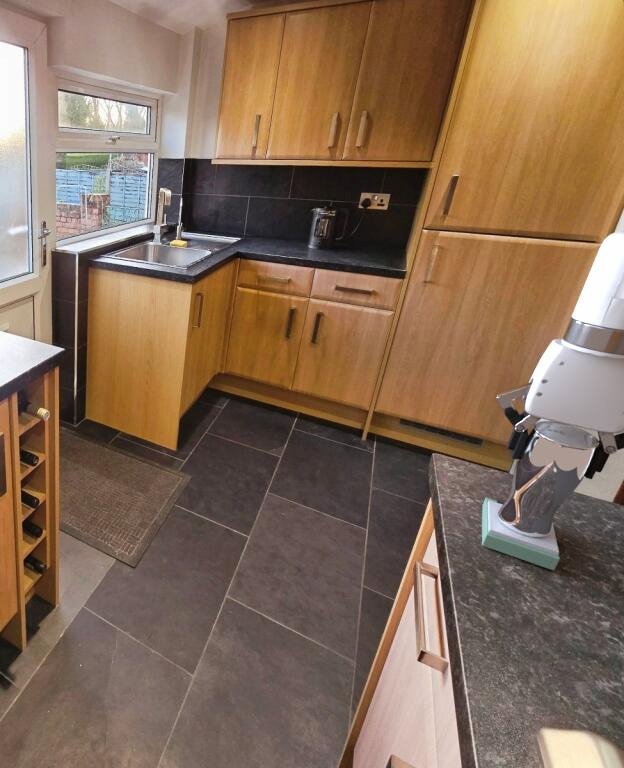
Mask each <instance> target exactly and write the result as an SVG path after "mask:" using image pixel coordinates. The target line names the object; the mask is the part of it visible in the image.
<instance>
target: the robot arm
mask: <svg viewBox="0 0 624 768" xmlns="http://www.w3.org/2000/svg"><path fill="white" fill-rule="evenodd" d="M519 399H522V403H524V404H525V405H524V411H522V412H521V413H519V411H518V410H517V409H516V407H515V406H514V405H513V403H512V402H513V401H515V400H519ZM495 401H496V402H497V404H498V406H499V407H500V409H501V410H502V412H503V414H504V416H505V417H506V418H507V420H508V421H509V423H510V424H511V425H512V427H513V429H512V432H511V434H510V437H509V439H508V441H507V445H506V449H507V450H510V455H511V459H513V460H517V459H519V457H520V455H521V453H522V450H523V448H524V445H525V443H526V441H527V438H528V435H529V429H530V428H531V427H533V426H534V424H535V423H537V422H540V421H541V420H544V421H554V422H558V423H562V424H567V425H571V426H575V427H578V428H580V429H584V430H585V429H586V430H590V431H595V432H597V436H598V441H599V446H598V447H597V450H596V452H595V455H594V458H593V460H592V463H591V465H590V467H589V469H588V471H587V473H586V475H585V476H584V478H586V479H589V480H593V478H594V477H595V474H596V473H600V474H601V473H602V471H603V469H604V468H605V466H606V464H607V461H608V459H609V458H610V455H612V454H616V453H617V451H619V450H623V449H624V230H621V231H615V232H613V233H610V234H609V235H607V236H606V237H605V238H604V240H603V241H602V242H601V245H600V247H599V249H598V251H597V253H596V256H595V257H594V261H593V263H592V266H591V268H590V271H589V272H588V276H587V278H586V280H585V283H584V285H583V287H582V290H581V293H580V295H579V297H578V299H577V302H576V305H575V307H574V310H573V312H572V314H571V317H570V319H569V322H568V324H567V327H566V329H565V330H564V334H563V336H562V338H554V339H552V341H551V342H550V343H549V345H548V346H547V348H546V349H545V351H544V352H543V353H542V356H541V358H540V359H539V361H538V363H537V365H536V367H535V369H534V371H533V373H532V375H531V376H530V378H529V381H528V382H527V383H524V384H521V385H518V386H515V387H513V388H510V389H506V390H503V391H501V392H498V393H496V394H495Z"/></svg>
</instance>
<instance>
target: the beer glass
mask: <svg viewBox="0 0 624 768" xmlns="http://www.w3.org/2000/svg"><path fill="white" fill-rule="evenodd" d="M598 446H599V439H598V437H596V436H595V435H593V434H592V433H590V432H589V431H587V430H585V429H583V428H580V427H576V426H571V425H567V424H562V423H558V422H554V421H549V420H539V421H538V422H536V423H535V424H533V425H532V428H531V430H530V431H529V432H528V438H527V441H526V443H525V445H524V448H523V450H522V453H521V455H520V457H519V459H516V462H515V465H514V471H513V475H512V481H511V482H512V483H511V487H510V491H509V494H508V496H507V498H506V499H505V501H503V502H504V504H503V505H502V506H501V507H500V508H499V510H498V511H497V516H498V518H499V520H500V521H501V522H502V523H503V524H504V525H505V526H507V527H508V528H510V529H511V530H513V531H515V532H517V533H520V534H522V535H526V536H530V537H545V536H547V535H548V534H549V533H550V531H551V527H552V523H553V521H554V518H555V515H556V513H557V512H558V510H559V508H560V507H561V506H562V505H563V504H564V502H565V501H567V499H568V498H569V497H570V496H571V495H572V494H573V492H574V491H575V490H576V489H577V488H578V486H579V485H580V484H581V483H582V481H583V480H584V478H585V475H586V473H587V471H588V469H589V467H590V465H591V463H592V460H593V458H594V455H595V452H596V450H597V447H598Z"/></svg>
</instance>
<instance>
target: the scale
mask: <svg viewBox="0 0 624 768" xmlns="http://www.w3.org/2000/svg"><path fill="white" fill-rule="evenodd" d="M504 502H505V501H503V500H500V499H497V500H496V499H492V498H489V497H485V499H484V501H483V504H482V509H481V510H482V513H481V545H482V547H484V548H488V549H489V550H490V549H491V550H494V551H496V552H499V553H501V554H505V555H507V556H509V557H510V556H511V557H514V558H517V559H519V560H521V561H522V560H523V561H524V562H528V563H531V564H533V565H535V566H539V567H542V568H545V569H548V570H550V571H555V570H556V569H557V566H558V564H559V562H560V559H561V558H560V549H559V546H558V542H557V537H556V532H555V528H554V523H553V522H552V527H551V531H550V533H549V534H548V535H547V536H545V537H530V536H526V535H522V534H520V533H517V532H515V531H513V530H511V529H510V528H508V527H507V526H505V525H504V524H503V523H502V522H501V521H500V520H499V518H498V516H497V511H498V510H499V508H500V507H501V506H502V505H503V504H504Z"/></svg>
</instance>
